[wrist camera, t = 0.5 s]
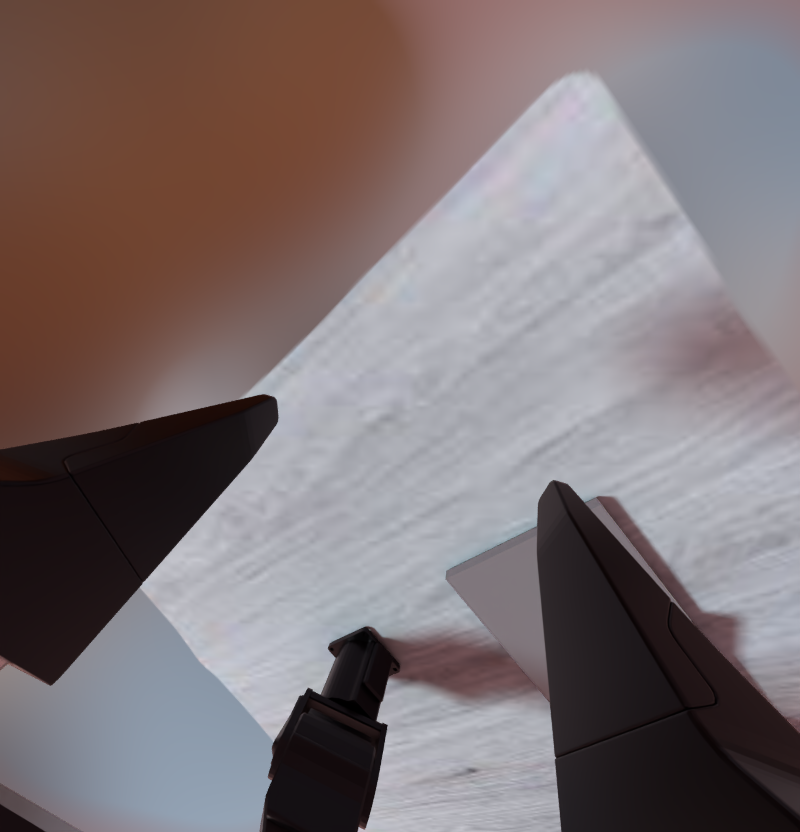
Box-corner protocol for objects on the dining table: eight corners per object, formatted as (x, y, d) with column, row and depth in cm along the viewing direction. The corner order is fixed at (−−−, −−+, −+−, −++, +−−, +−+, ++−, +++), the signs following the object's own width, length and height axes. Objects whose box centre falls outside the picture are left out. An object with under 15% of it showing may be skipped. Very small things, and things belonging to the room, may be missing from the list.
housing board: (612, 768, 31) (629, 821, 27) (446, 570, 29) (443, 601, 25) (784, 741, 25) (830, 801, 22) (596, 497, 23) (616, 524, 20)
